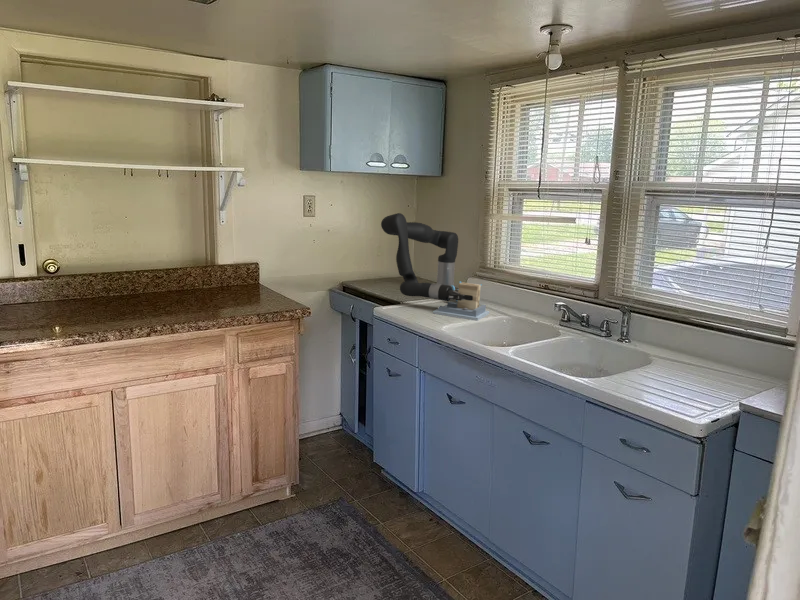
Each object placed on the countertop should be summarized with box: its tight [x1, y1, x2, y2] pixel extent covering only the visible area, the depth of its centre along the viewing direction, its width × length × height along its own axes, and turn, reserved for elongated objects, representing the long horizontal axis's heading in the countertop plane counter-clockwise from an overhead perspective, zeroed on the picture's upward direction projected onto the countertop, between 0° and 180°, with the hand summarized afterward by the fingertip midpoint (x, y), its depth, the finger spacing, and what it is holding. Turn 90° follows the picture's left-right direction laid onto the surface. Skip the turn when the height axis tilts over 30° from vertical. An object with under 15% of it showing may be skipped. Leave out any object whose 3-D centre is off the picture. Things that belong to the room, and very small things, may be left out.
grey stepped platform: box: [432, 301, 490, 322], centre depth 276 cm, size 16×22×4 cm
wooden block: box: [456, 281, 482, 310], centre depth 273 cm, size 4×9×13 cm, turn 63°
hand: (474, 297), depth 272 cm, fingers closed on wooden block, 4 cm apart
